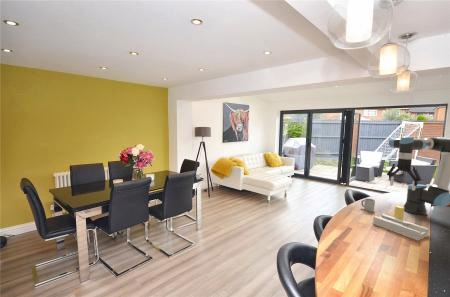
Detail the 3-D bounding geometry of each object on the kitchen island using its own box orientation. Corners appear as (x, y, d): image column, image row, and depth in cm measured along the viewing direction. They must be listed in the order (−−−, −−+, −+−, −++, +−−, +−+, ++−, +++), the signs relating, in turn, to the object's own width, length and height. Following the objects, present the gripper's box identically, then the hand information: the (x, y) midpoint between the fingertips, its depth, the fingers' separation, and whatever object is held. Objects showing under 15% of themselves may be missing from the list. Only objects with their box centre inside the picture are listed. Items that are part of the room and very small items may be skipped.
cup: (371, 212, 184) (372, 201, 183) (358, 208, 192) (359, 198, 191) (375, 210, 188) (376, 200, 187) (362, 206, 196) (363, 197, 195)
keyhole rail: (383, 220, 169) (383, 213, 168) (428, 235, 145) (429, 228, 144) (372, 223, 162) (373, 216, 162) (417, 240, 138) (418, 232, 138)
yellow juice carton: (397, 220, 168) (399, 205, 166) (403, 223, 164) (405, 207, 163) (392, 222, 164) (394, 206, 163) (398, 224, 161) (400, 208, 160)
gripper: (382, 156, 168) (380, 184, 171) (424, 161, 146) (420, 193, 149) (388, 156, 172) (386, 183, 174) (429, 160, 150) (426, 191, 152)
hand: (402, 187), depth 161 cm, fingers open, 13 cm apart
